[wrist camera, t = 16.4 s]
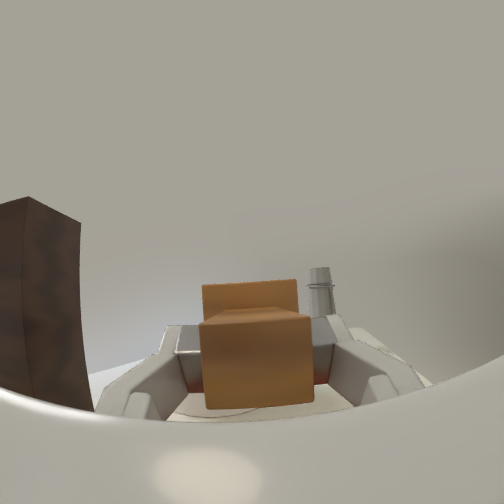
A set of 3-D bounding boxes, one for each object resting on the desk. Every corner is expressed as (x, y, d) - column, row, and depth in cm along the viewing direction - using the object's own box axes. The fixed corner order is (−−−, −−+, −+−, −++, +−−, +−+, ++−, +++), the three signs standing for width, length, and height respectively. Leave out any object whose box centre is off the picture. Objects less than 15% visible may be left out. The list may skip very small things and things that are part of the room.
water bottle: (304, 357, 76) (299, 270, 80) (322, 352, 81) (317, 270, 85) (329, 360, 69) (323, 266, 73) (347, 354, 73) (341, 266, 77)
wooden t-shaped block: (357, 395, 7) (350, 256, 8) (162, 409, 7) (150, 268, 7) (287, 334, 22) (283, 283, 22) (217, 338, 22) (213, 288, 22)
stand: (81, 520, 11) (28, 195, 15) (24, 494, 11) (-21, 210, 15) (114, 479, 19) (81, 222, 23) (62, 464, 19) (31, 230, 23)
